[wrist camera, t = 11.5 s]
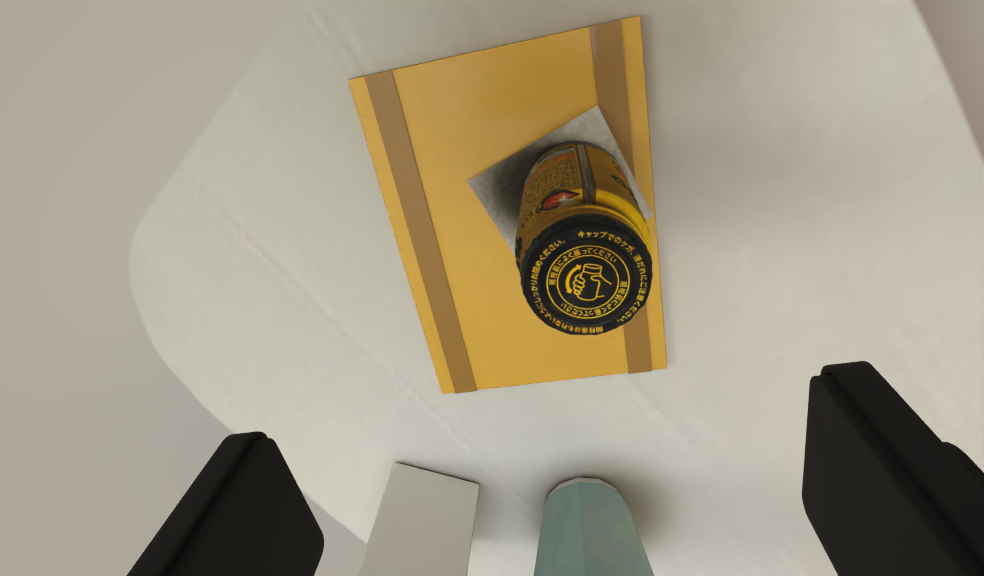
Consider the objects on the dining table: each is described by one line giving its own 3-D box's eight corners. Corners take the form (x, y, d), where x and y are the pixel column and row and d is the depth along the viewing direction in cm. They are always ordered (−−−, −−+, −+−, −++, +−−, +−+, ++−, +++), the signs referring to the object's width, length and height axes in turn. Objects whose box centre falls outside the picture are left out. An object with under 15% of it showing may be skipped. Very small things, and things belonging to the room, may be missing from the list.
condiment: (652, 214, 32) (702, 316, 21) (528, 276, 35) (517, 394, 24) (597, 104, 30) (623, 156, 19) (467, 179, 32) (425, 262, 22)
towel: (350, 79, 31) (347, 80, 30) (639, 15, 28) (640, 15, 27) (443, 390, 40) (442, 394, 40) (666, 365, 37) (667, 369, 37)
